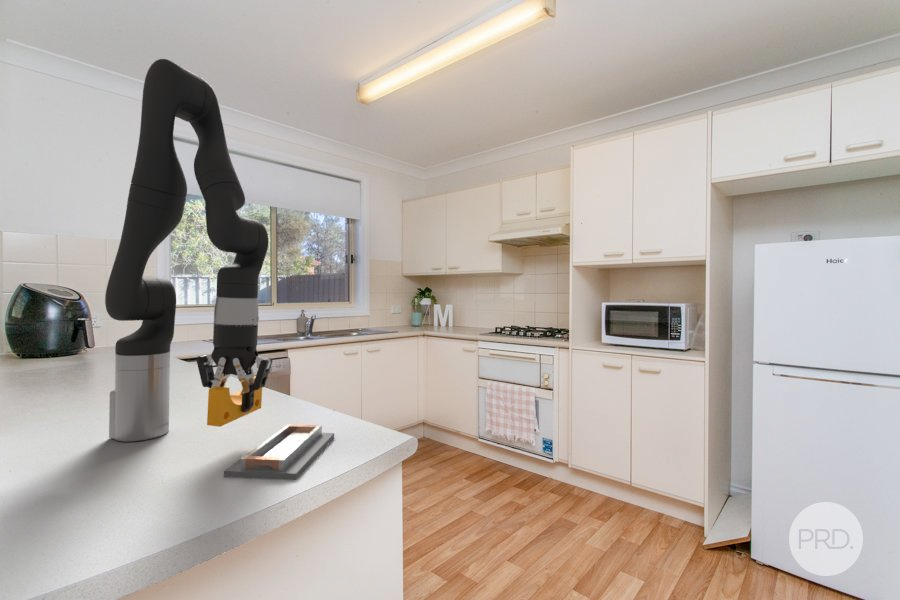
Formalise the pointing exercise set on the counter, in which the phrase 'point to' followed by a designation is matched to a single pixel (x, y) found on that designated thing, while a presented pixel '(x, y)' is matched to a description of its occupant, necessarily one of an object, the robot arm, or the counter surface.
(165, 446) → the counter surface
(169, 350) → the robot arm
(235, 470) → the mounting board
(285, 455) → the long hollow rectangular frame
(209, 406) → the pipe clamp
